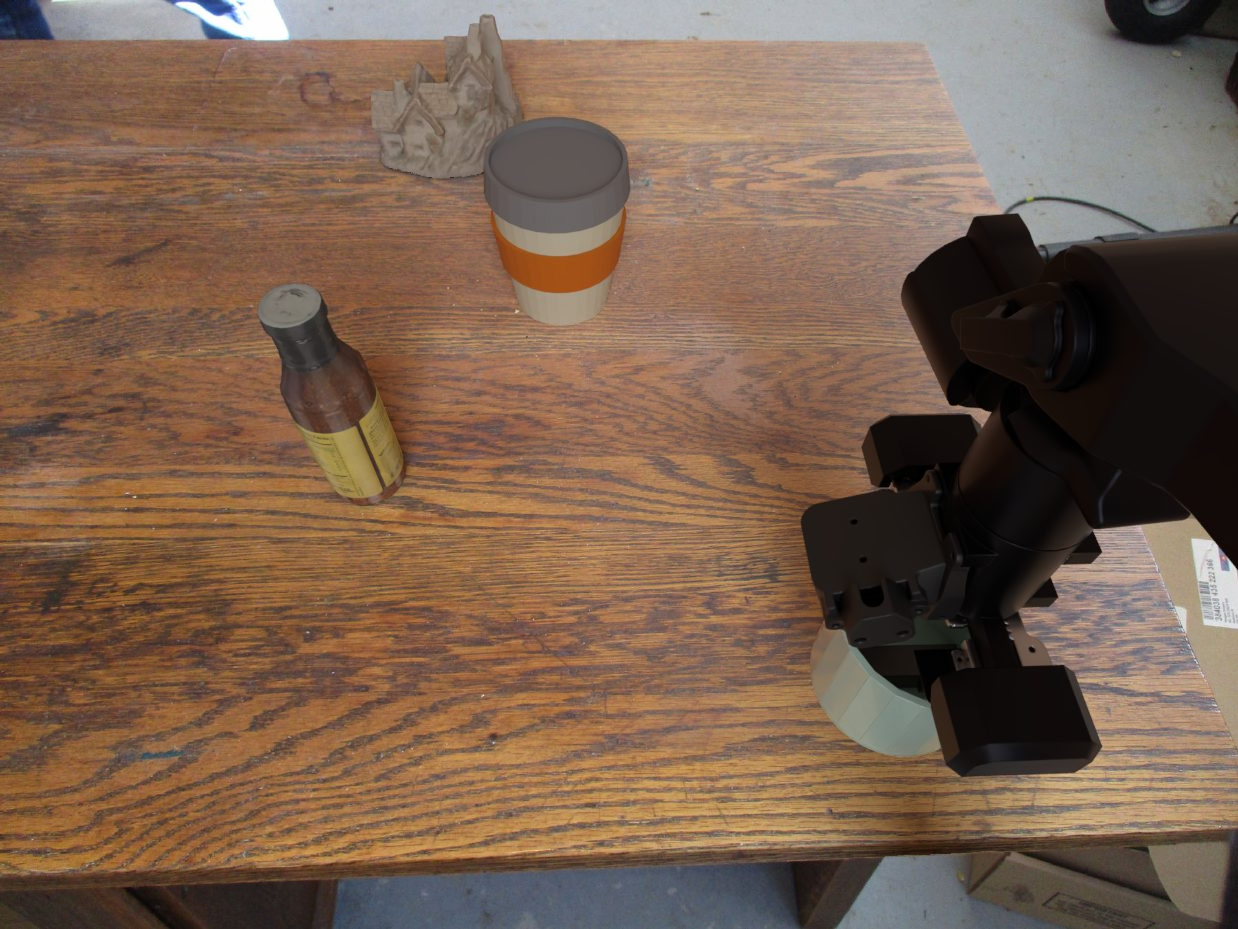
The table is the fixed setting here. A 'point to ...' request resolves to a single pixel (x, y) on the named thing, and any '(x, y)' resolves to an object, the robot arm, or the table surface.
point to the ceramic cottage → (448, 108)
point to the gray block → (898, 662)
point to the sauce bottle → (332, 397)
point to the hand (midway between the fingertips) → (913, 644)
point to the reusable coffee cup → (558, 213)
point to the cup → (877, 692)
